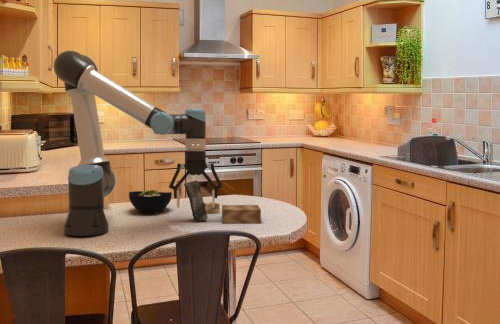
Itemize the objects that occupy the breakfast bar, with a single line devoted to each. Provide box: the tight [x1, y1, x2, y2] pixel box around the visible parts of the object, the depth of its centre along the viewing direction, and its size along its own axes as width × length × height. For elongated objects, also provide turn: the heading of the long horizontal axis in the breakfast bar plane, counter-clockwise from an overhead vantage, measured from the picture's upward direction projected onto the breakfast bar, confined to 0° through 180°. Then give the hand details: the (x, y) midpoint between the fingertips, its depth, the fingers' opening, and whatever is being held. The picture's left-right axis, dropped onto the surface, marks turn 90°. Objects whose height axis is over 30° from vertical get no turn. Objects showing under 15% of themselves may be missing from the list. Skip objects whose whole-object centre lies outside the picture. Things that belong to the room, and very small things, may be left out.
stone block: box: [183, 179, 208, 222], centre depth 205 cm, size 9×14×5 cm
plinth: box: [221, 204, 262, 225], centre depth 206 cm, size 14×14×5 cm
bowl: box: [128, 189, 173, 215], centre depth 221 cm, size 17×17×10 cm
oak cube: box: [204, 201, 221, 215], centre depth 219 cm, size 5×5×5 cm
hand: (195, 207), depth 205 cm, fingers open, 12 cm apart
